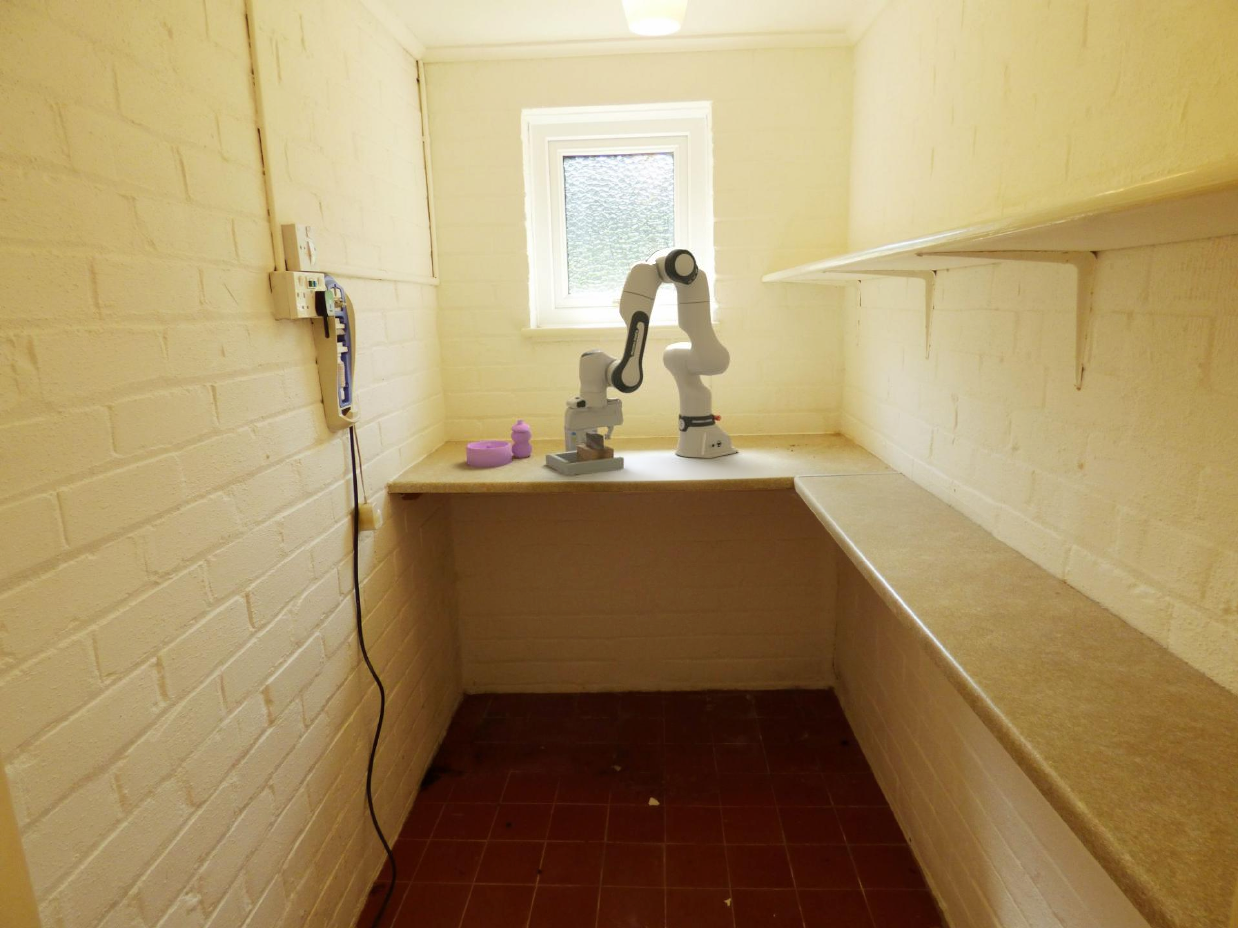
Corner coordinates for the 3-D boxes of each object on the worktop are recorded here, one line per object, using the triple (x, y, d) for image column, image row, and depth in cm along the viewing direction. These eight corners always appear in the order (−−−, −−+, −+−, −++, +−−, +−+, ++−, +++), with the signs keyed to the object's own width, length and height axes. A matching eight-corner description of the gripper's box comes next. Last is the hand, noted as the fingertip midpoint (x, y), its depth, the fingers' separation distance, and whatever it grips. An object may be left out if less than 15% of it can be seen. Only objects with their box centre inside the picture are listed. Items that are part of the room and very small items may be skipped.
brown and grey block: (598, 459, 249) (597, 430, 247) (613, 466, 239) (613, 435, 237) (577, 462, 246) (576, 432, 244) (592, 469, 235) (591, 438, 233)
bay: (599, 457, 253) (599, 446, 252) (623, 468, 237) (623, 456, 236) (546, 464, 245) (545, 452, 244) (567, 475, 228) (567, 463, 227)
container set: (482, 470, 239) (479, 431, 236) (459, 463, 250) (456, 425, 247) (543, 457, 255) (541, 421, 252) (518, 451, 267) (517, 416, 264)
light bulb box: (591, 451, 265) (590, 422, 262) (599, 454, 259) (598, 424, 256) (564, 454, 260) (563, 424, 258) (571, 457, 254) (570, 427, 252)
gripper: (617, 396, 245) (618, 435, 248) (561, 401, 236) (563, 442, 239) (625, 398, 239) (627, 439, 242) (569, 404, 230) (570, 446, 234)
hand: (595, 441), depth 241 cm, fingers open, 8 cm apart
